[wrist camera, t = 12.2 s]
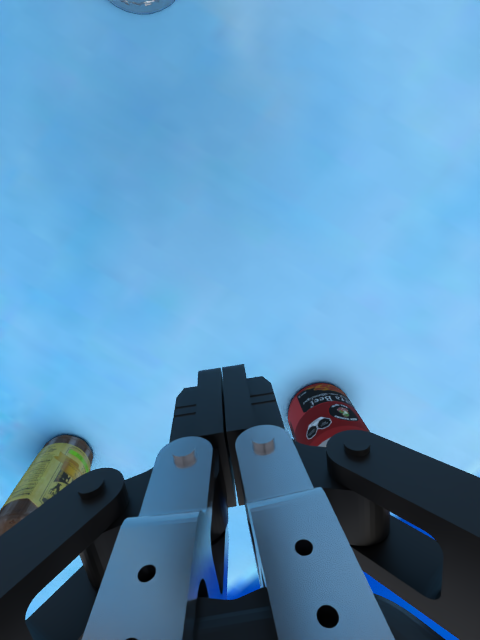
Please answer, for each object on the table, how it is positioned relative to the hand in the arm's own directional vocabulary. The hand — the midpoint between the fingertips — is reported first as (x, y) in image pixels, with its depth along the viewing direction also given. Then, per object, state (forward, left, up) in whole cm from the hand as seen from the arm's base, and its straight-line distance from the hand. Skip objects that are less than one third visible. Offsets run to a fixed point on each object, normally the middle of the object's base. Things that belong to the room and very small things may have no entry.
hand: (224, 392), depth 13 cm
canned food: (+22, +9, -30) cm, 38 cm away
